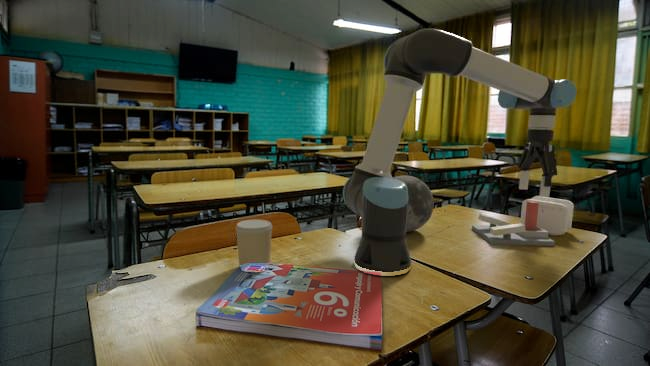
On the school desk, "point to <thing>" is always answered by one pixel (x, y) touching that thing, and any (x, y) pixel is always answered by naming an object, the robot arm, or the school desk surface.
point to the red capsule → (531, 215)
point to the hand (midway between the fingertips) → (533, 192)
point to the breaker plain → (492, 220)
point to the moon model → (417, 202)
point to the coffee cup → (254, 241)
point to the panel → (515, 236)
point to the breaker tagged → (507, 229)
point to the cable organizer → (551, 214)
